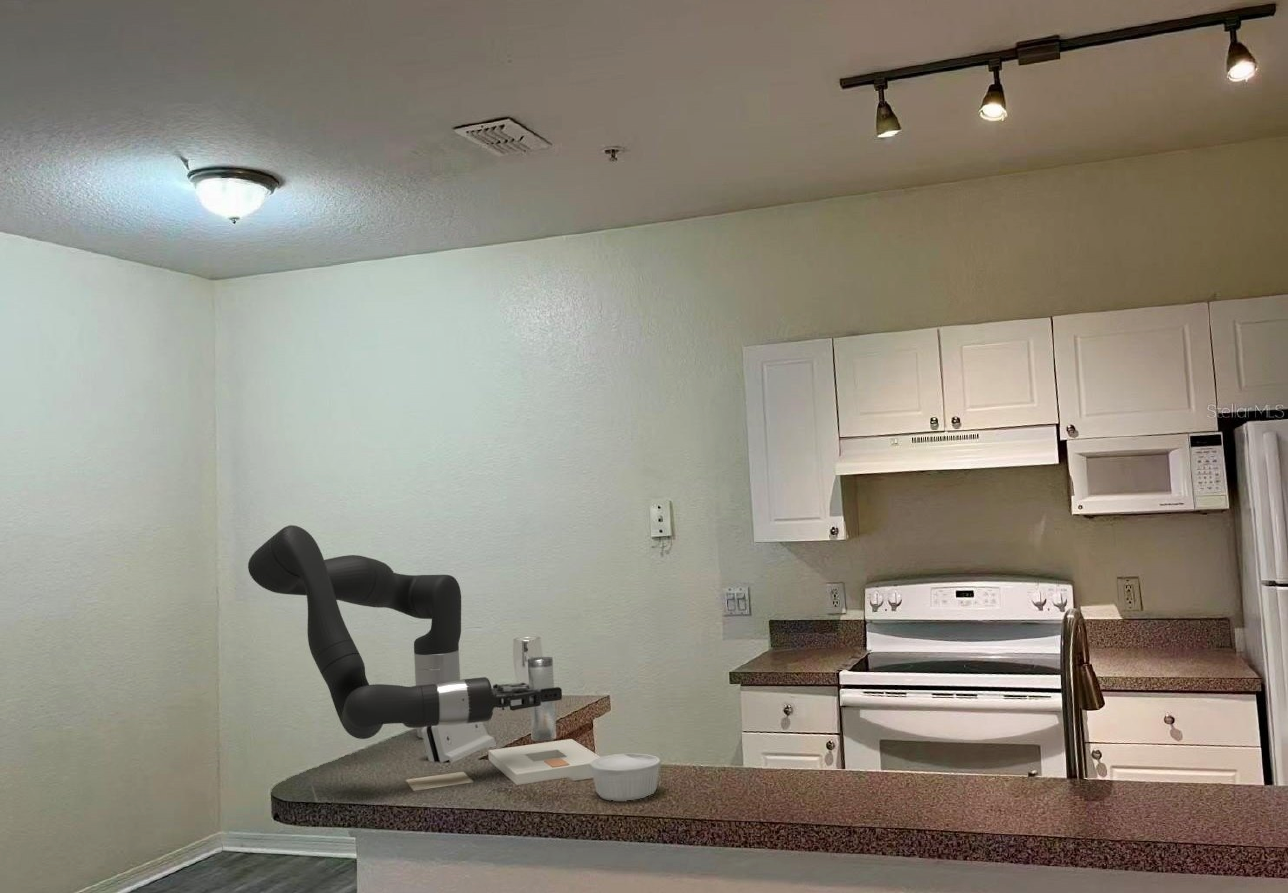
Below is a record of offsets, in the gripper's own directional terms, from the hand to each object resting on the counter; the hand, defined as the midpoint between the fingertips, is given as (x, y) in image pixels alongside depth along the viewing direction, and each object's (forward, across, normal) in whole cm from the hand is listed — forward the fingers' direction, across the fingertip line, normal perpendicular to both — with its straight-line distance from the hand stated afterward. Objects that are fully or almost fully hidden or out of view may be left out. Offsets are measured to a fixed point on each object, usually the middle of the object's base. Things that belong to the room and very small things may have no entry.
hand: (556, 691), depth 193 cm
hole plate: (-2, 0, +14) cm, 14 cm away
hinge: (-14, +20, +14) cm, 28 cm away
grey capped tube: (-3, 0, +8) cm, 8 cm away
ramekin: (+5, -22, +14) cm, 26 cm away
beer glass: (+12, +65, +13) cm, 68 cm away
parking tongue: (-21, 0, +14) cm, 25 cm away
